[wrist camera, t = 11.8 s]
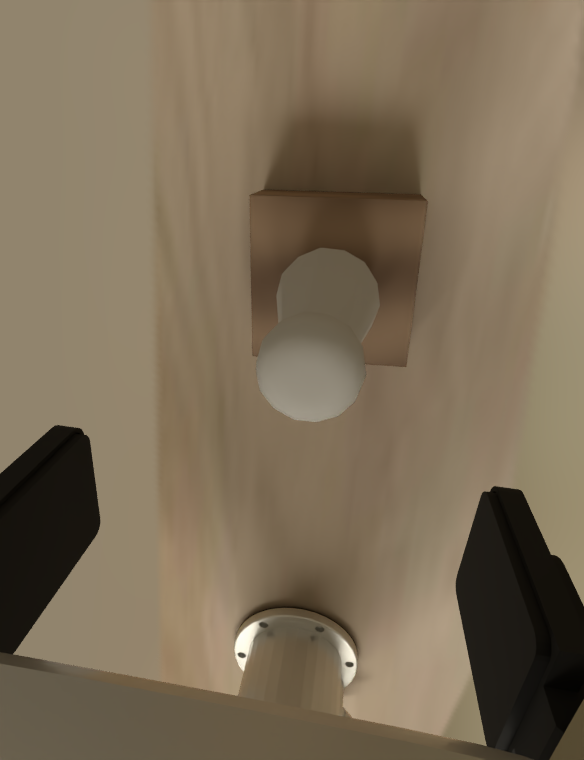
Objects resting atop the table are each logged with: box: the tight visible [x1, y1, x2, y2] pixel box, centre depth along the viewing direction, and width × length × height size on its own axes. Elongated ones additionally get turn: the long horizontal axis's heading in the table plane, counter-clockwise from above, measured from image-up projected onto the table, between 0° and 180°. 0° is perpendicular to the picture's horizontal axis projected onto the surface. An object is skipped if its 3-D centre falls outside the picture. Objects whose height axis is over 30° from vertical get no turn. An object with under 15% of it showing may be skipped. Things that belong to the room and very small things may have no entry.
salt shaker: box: [256, 248, 380, 422], centre depth 24 cm, size 6×6×13 cm
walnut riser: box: [250, 190, 428, 367], centre depth 31 cm, size 10×10×4 cm
